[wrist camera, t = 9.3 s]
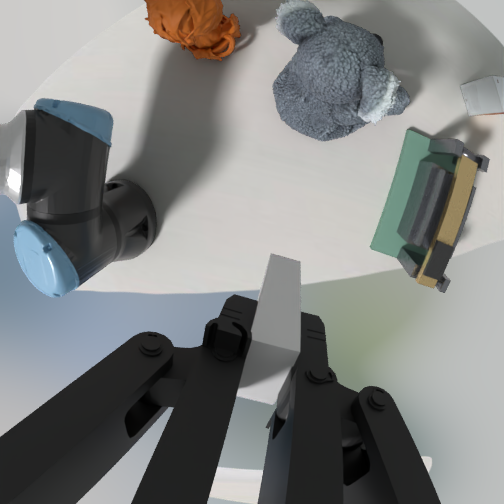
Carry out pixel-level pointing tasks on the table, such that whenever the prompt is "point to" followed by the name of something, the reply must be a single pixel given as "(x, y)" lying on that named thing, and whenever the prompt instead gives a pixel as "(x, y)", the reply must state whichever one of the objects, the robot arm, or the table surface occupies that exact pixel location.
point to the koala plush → (332, 75)
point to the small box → (484, 96)
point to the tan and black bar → (449, 220)
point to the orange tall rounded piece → (194, 26)
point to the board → (404, 193)
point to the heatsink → (431, 206)
